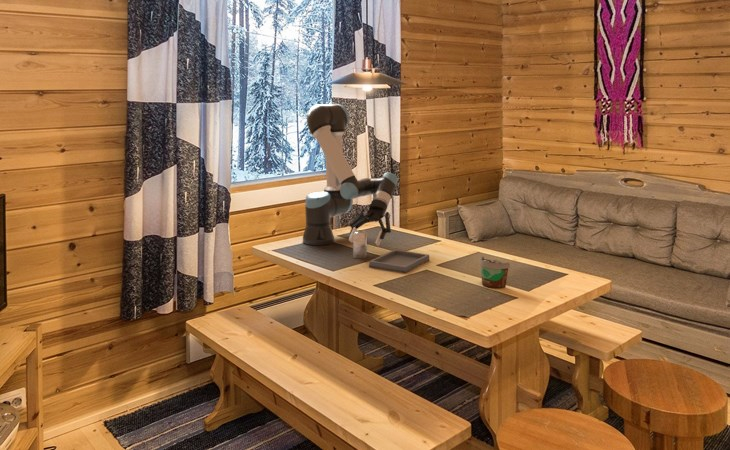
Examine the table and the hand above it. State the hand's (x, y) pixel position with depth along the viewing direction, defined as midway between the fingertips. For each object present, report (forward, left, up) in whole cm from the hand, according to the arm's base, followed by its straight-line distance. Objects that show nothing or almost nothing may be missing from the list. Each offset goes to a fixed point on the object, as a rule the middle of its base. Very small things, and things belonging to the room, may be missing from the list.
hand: (363, 242), depth 276 cm
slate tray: (+19, -2, -6) cm, 20 cm away
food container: (+62, -11, -6) cm, 64 cm away
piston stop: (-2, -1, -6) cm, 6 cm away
